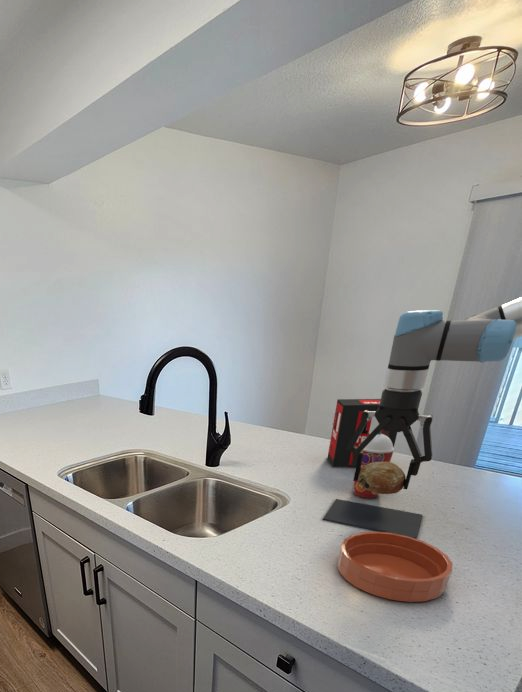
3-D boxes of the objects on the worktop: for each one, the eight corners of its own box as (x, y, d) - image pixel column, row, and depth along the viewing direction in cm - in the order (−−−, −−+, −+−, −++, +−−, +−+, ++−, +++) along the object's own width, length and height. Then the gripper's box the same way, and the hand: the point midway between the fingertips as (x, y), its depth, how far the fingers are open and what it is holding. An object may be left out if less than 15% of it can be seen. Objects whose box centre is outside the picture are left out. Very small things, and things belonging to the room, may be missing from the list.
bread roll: (350, 495, 110) (345, 470, 106) (380, 472, 111) (377, 447, 107) (384, 509, 102) (380, 484, 97) (417, 485, 103) (415, 458, 98)
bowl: (447, 566, 89) (454, 545, 86) (441, 616, 76) (449, 593, 73) (347, 543, 99) (351, 524, 97) (327, 583, 86) (331, 562, 84)
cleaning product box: (332, 467, 142) (343, 405, 133) (327, 458, 150) (337, 399, 141) (388, 468, 138) (404, 404, 129) (380, 459, 146) (394, 398, 137)
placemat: (422, 515, 109) (422, 514, 109) (416, 539, 99) (416, 537, 99) (335, 500, 120) (336, 498, 120) (322, 519, 110) (323, 518, 110)
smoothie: (376, 488, 125) (392, 419, 116) (387, 500, 118) (405, 427, 109) (345, 488, 126) (359, 419, 117) (354, 499, 119) (369, 427, 110)
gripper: (467, 388, 91) (437, 486, 102) (350, 383, 104) (333, 470, 114) (466, 395, 86) (434, 497, 96) (342, 388, 98) (326, 480, 109)
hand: (380, 483), depth 105 cm, fingers closed on bread roll, 10 cm apart
